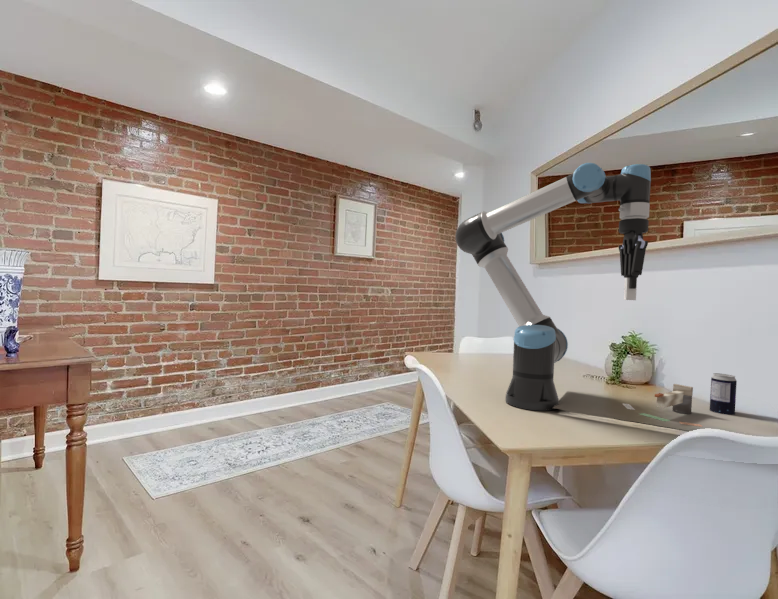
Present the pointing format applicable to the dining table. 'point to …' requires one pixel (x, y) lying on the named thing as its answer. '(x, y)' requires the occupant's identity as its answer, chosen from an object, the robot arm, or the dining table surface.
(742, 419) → the dining table surface
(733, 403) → the beverage can
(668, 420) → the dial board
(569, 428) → the dining table surface
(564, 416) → the dining table surface
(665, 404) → the peg lever
